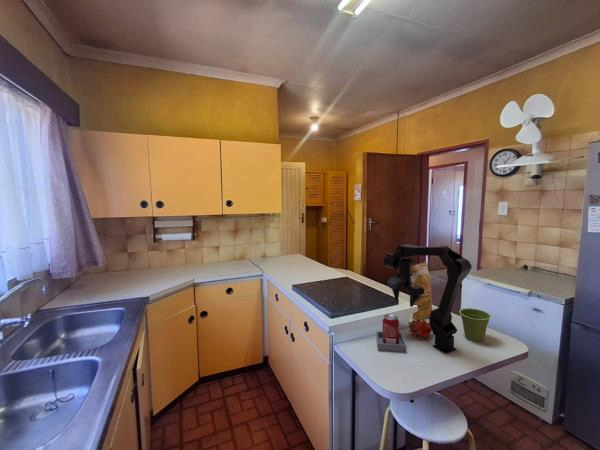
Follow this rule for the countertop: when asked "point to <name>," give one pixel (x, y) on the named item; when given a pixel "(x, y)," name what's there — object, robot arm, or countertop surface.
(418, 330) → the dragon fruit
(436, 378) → the countertop surface
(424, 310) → the pancake mix bag
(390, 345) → the box
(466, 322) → the plant pot
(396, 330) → the soda can
